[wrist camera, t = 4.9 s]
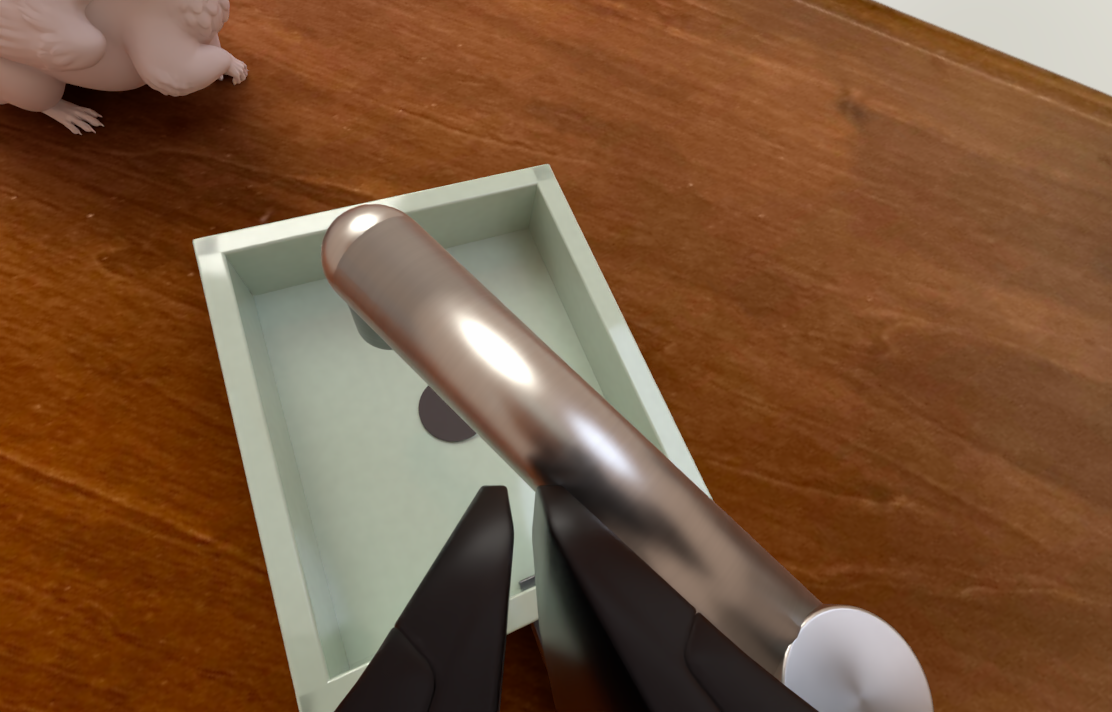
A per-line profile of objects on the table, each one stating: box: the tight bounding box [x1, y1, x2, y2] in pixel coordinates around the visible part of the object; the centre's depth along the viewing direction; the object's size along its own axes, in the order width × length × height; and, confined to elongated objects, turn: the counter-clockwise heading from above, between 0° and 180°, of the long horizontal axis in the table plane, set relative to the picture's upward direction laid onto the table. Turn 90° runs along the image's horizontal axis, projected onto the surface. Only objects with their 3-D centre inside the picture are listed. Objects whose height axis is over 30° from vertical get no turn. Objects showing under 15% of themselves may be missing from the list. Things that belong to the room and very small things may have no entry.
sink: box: [193, 164, 713, 712], centre depth 17 cm, size 19×12×4 cm, turn 23°
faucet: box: [321, 204, 934, 712], centre depth 13 cm, size 13×2×10 cm, turn 47°
